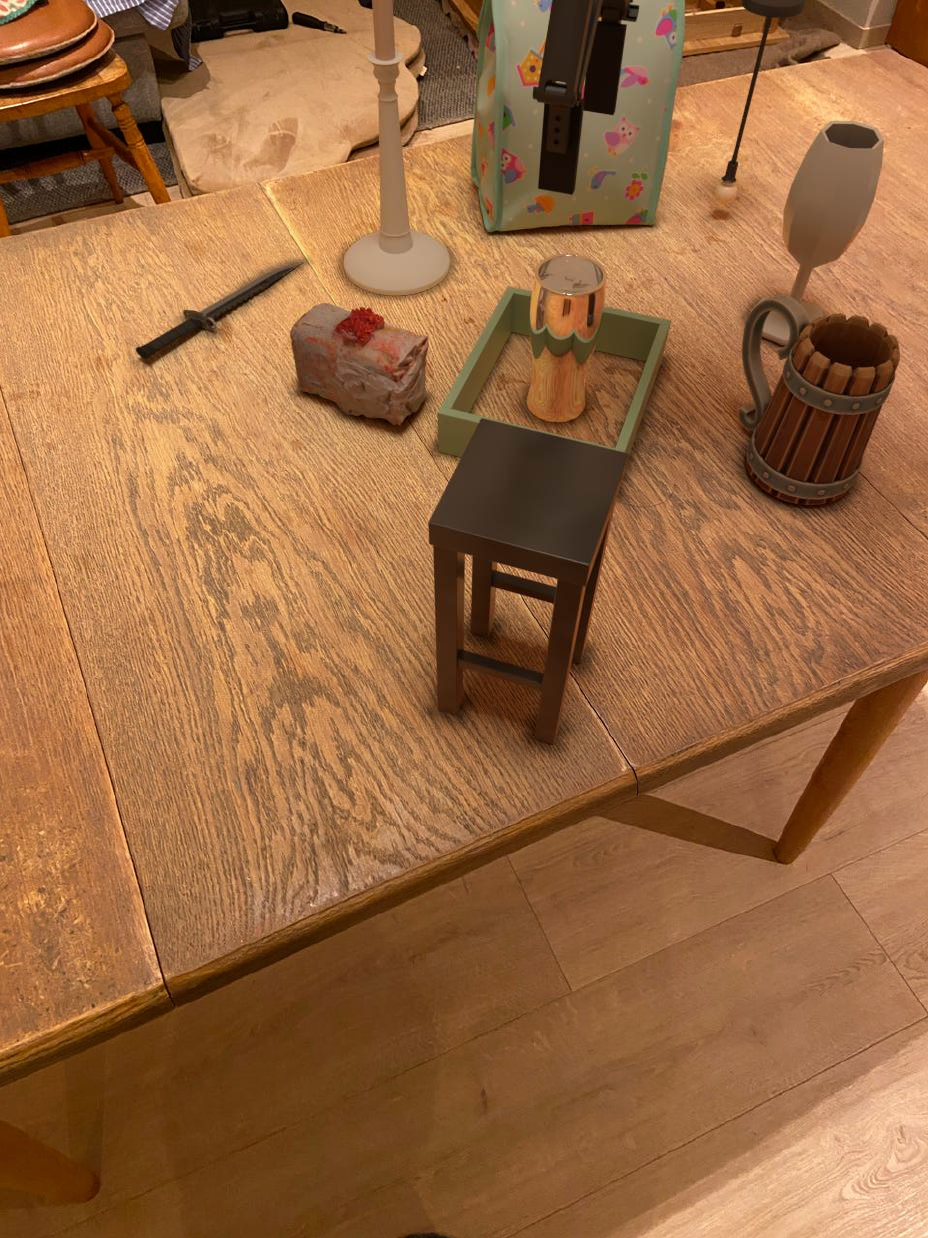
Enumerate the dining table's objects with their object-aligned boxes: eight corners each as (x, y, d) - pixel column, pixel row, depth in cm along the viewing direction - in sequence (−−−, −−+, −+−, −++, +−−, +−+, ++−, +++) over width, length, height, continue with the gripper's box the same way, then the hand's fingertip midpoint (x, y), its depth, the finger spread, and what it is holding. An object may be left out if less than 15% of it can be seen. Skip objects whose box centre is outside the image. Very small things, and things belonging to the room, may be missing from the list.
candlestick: (455, 238, 112) (455, -49, 88) (443, 298, 104) (440, 2, 80) (353, 232, 112) (326, -55, 88) (335, 291, 105) (299, -4, 81)
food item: (440, 395, 94) (439, 313, 86) (404, 441, 90) (399, 360, 82) (329, 358, 98) (318, 276, 90) (288, 401, 93) (273, 319, 85)
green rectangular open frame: (662, 359, 98) (671, 319, 94) (615, 496, 86) (623, 457, 82) (505, 325, 101) (507, 285, 97) (438, 451, 89) (437, 412, 85)
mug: (875, 480, 87) (943, 351, 75) (800, 525, 84) (858, 397, 71) (759, 393, 95) (803, 263, 83) (685, 431, 91) (720, 301, 79)
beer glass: (522, 380, 96) (532, 250, 84) (587, 382, 96) (606, 252, 83) (522, 424, 91) (533, 294, 79) (590, 426, 91) (611, 296, 79)
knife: (283, 247, 109) (313, 257, 107) (286, 262, 110) (316, 272, 108) (124, 339, 96) (155, 352, 94) (129, 354, 97) (160, 368, 95)
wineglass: (821, 355, 99) (897, 164, 82) (742, 339, 100) (800, 148, 83) (829, 310, 104) (902, 121, 87) (753, 295, 105) (810, 107, 88)
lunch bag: (631, 168, 123) (669, -71, 101) (663, 233, 113) (713, -16, 91) (465, 178, 121) (468, -64, 99) (483, 245, 111) (490, -6, 89)
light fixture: (715, 237, 113) (771, 10, 92) (682, 212, 116) (730, -12, 96) (756, 223, 115) (820, -1, 94) (723, 199, 118) (778, -23, 98)
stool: (587, 648, 75) (629, 452, 57) (555, 748, 69) (589, 565, 52) (474, 616, 77) (481, 417, 59) (434, 711, 71) (427, 522, 54)
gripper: (603, -253, 63) (572, 76, 80) (497, -158, 48) (486, 218, 65) (711, -245, 61) (655, 89, 78) (633, -143, 47) (586, 236, 64)
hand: (578, 148), depth 72 cm, fingers open, 13 cm apart
